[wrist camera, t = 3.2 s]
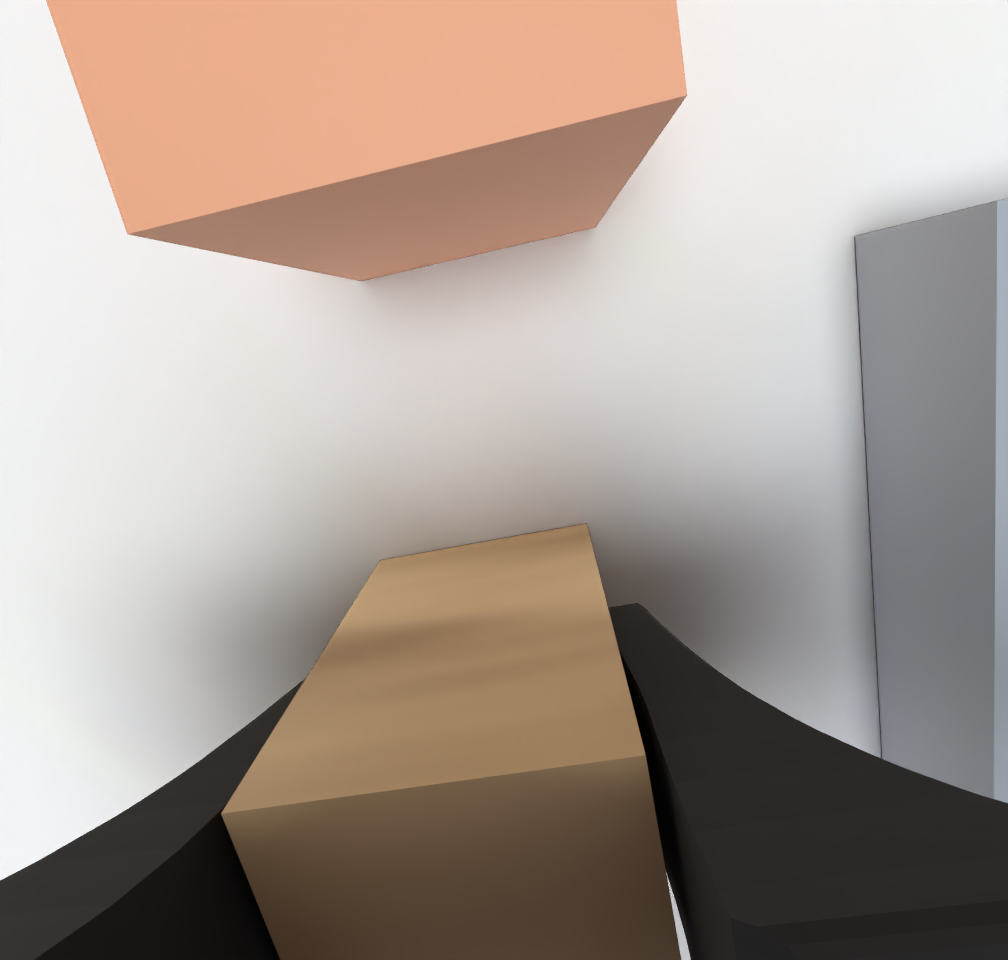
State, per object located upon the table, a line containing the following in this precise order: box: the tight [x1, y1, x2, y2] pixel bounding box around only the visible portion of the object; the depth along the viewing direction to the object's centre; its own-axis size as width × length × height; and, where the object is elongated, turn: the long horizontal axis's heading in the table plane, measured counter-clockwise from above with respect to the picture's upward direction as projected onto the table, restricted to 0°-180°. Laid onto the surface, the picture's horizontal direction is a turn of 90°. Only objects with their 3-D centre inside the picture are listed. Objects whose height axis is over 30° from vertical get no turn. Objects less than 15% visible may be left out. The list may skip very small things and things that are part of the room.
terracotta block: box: [46, 0, 687, 281], centre depth 6 cm, size 4×4×6 cm
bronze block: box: [221, 523, 681, 960], centre depth 9 cm, size 4×4×6 cm
